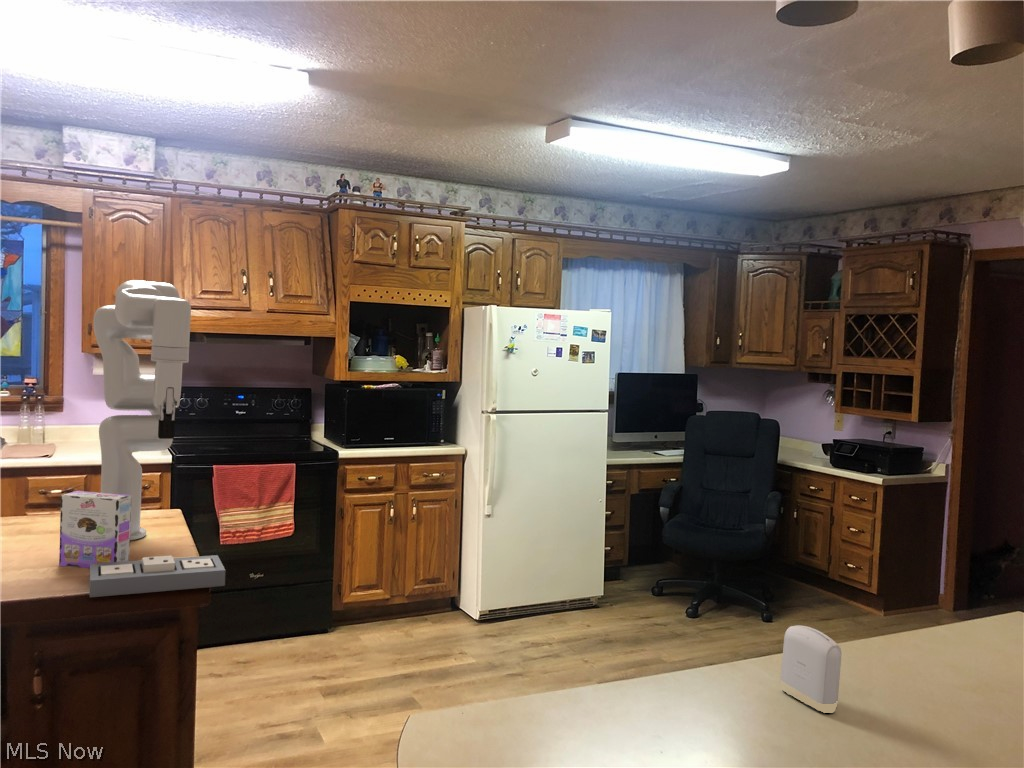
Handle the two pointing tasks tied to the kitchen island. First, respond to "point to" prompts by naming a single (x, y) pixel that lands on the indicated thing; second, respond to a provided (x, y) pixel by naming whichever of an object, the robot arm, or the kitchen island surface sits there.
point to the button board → (155, 578)
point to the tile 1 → (116, 569)
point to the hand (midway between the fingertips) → (166, 437)
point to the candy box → (94, 528)
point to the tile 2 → (158, 564)
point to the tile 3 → (196, 564)
